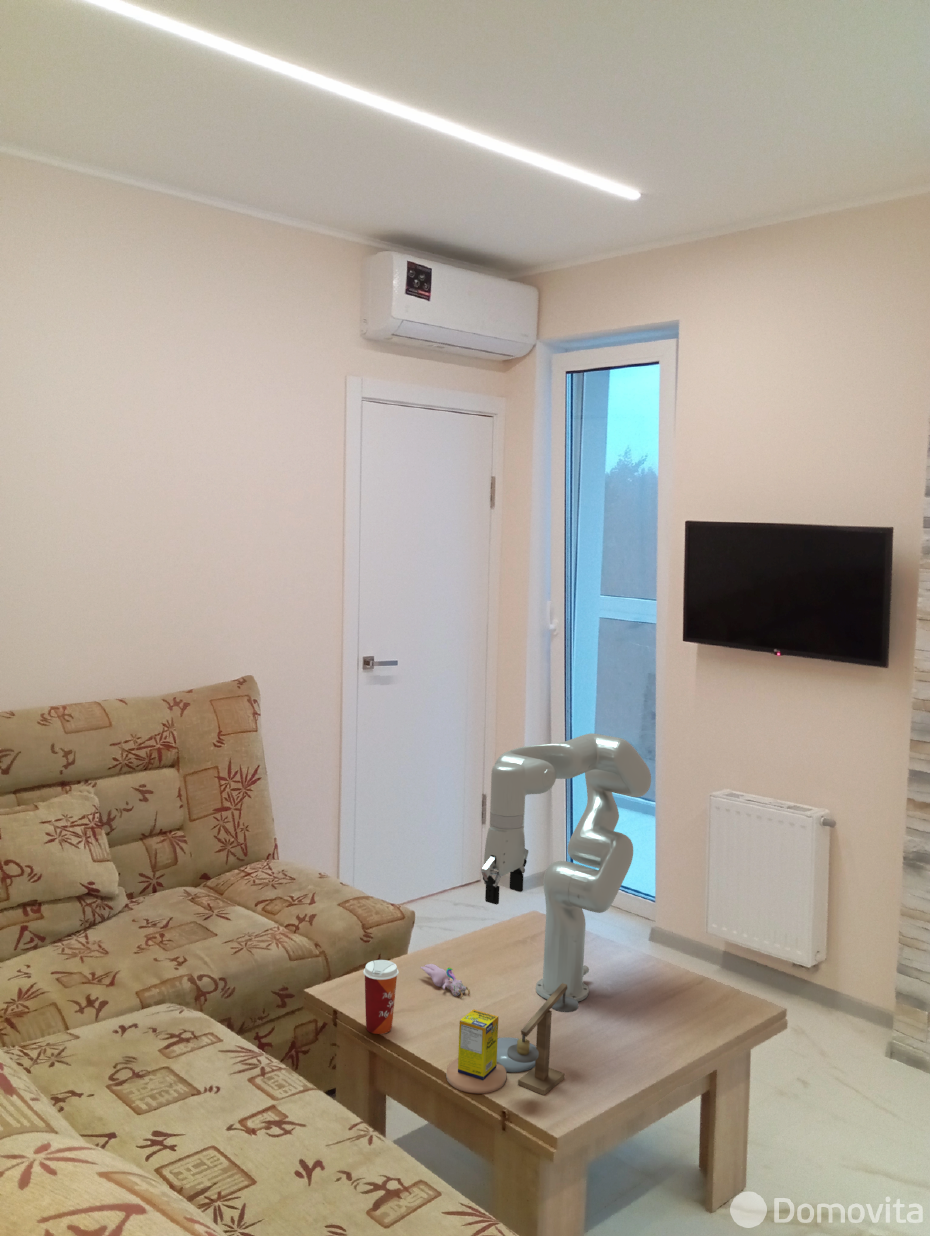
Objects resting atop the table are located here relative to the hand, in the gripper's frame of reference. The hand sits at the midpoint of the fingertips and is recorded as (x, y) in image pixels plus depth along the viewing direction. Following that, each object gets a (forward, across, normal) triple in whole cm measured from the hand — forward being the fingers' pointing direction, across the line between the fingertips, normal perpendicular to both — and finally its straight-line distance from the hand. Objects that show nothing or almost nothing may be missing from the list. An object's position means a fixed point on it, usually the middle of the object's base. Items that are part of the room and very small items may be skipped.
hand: (504, 896), depth 219 cm
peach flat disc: (+30, +20, +8) cm, 37 cm away
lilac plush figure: (+30, -8, -21) cm, 38 cm away
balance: (+30, +14, +19) cm, 38 cm away
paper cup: (+30, +17, -20) cm, 40 cm away
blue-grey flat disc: (+30, +9, +9) cm, 32 cm away
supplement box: (+29, +20, +8) cm, 36 cm away
